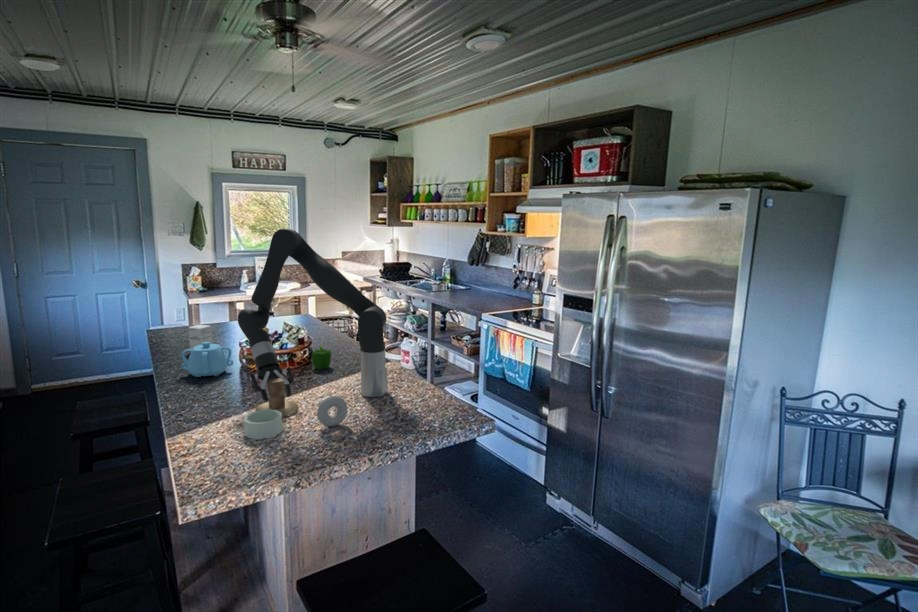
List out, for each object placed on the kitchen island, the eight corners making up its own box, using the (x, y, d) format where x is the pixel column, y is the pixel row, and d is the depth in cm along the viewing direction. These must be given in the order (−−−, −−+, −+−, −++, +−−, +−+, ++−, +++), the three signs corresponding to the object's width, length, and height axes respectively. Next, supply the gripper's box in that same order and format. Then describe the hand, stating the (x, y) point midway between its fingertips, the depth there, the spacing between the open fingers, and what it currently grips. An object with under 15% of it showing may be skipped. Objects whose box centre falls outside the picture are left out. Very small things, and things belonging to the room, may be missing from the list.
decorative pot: (178, 375, 209) (175, 343, 206) (214, 365, 223) (212, 335, 220) (201, 382, 201) (198, 349, 198) (237, 372, 214) (235, 341, 212)
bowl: (289, 426, 162) (288, 411, 161) (270, 440, 152) (269, 425, 151) (258, 422, 164) (257, 408, 163) (237, 437, 154) (236, 421, 153)
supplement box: (189, 352, 241) (187, 327, 239) (201, 349, 248) (199, 323, 246) (202, 354, 239) (200, 328, 237) (213, 350, 246) (212, 325, 244)
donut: (345, 420, 167) (344, 392, 165) (349, 424, 164) (348, 395, 163) (315, 427, 162) (314, 397, 160) (319, 431, 159) (318, 401, 157)
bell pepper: (328, 371, 218) (328, 348, 216) (309, 370, 218) (308, 348, 216) (333, 365, 226) (333, 343, 224) (315, 364, 226) (314, 343, 224)
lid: (288, 400, 184) (287, 371, 182) (305, 412, 174) (304, 381, 172) (249, 409, 175) (247, 378, 173) (264, 422, 165) (263, 389, 163)
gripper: (245, 354, 172) (258, 397, 165) (287, 348, 181) (301, 388, 174) (242, 366, 177) (254, 407, 170) (282, 359, 186) (295, 398, 179)
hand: (277, 398), depth 172 cm, fingers open, 7 cm apart
